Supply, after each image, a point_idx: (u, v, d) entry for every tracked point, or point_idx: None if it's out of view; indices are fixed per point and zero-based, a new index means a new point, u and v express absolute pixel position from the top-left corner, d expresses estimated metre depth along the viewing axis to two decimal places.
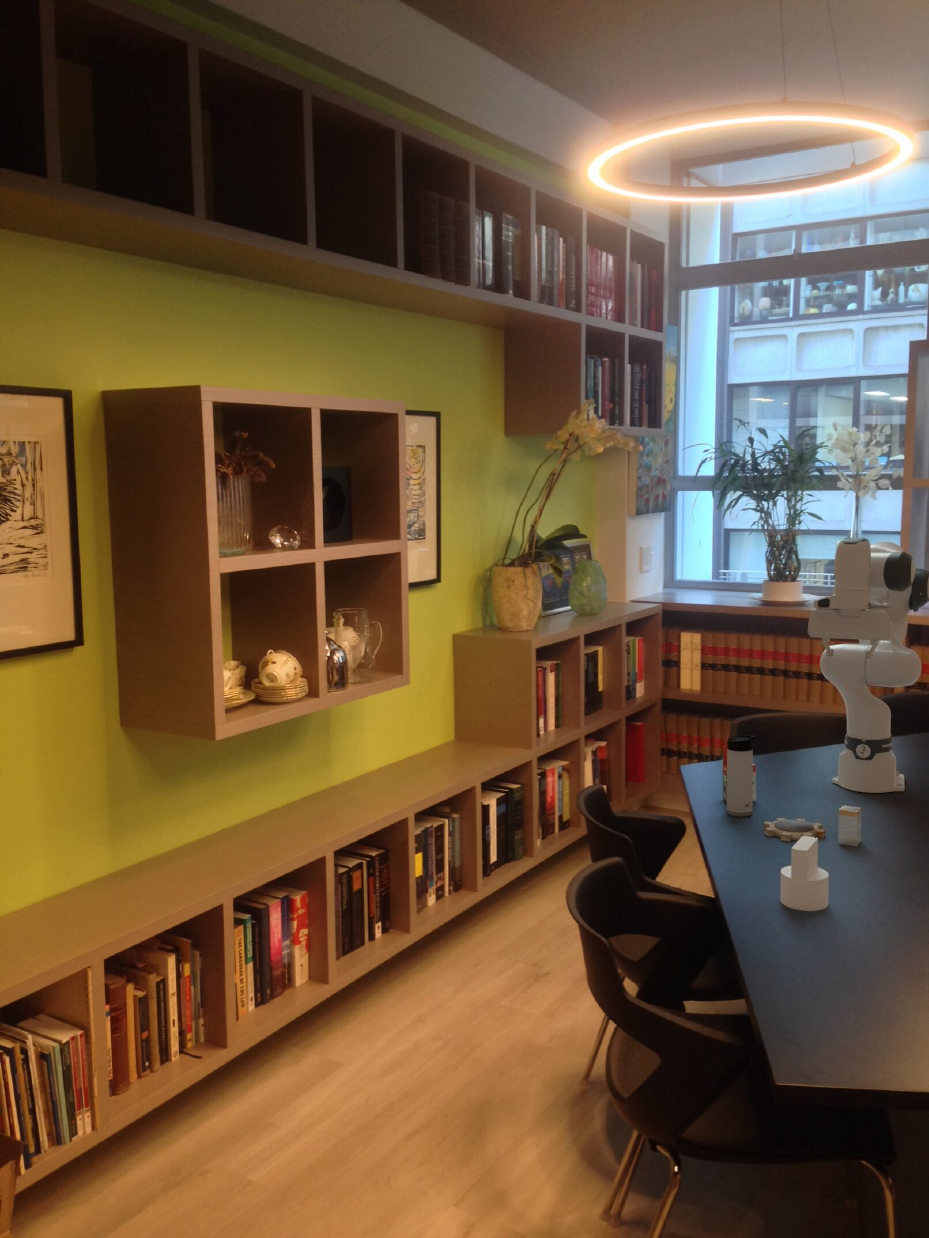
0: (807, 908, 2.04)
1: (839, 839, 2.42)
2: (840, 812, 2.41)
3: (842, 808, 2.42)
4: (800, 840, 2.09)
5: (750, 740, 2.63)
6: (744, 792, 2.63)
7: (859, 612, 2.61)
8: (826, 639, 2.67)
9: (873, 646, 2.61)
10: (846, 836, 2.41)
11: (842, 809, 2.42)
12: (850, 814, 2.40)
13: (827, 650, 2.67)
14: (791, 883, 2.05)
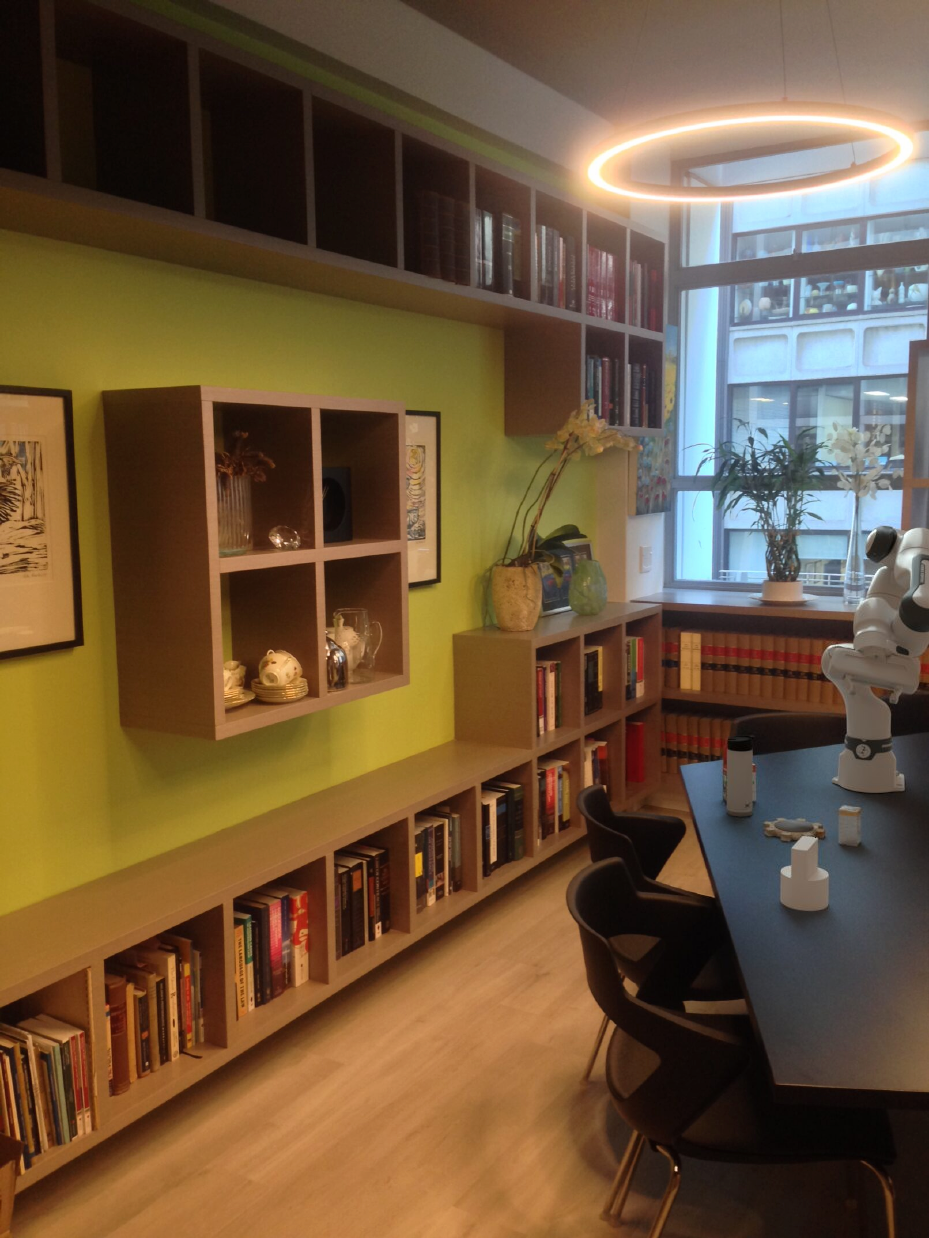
0: (807, 908, 2.04)
1: (839, 839, 2.42)
2: (840, 812, 2.41)
3: (842, 808, 2.42)
4: (800, 840, 2.09)
5: (750, 740, 2.63)
6: (744, 792, 2.63)
7: None
8: None
9: None
10: (846, 836, 2.41)
11: (842, 809, 2.42)
12: (850, 814, 2.40)
13: None
14: (791, 883, 2.05)
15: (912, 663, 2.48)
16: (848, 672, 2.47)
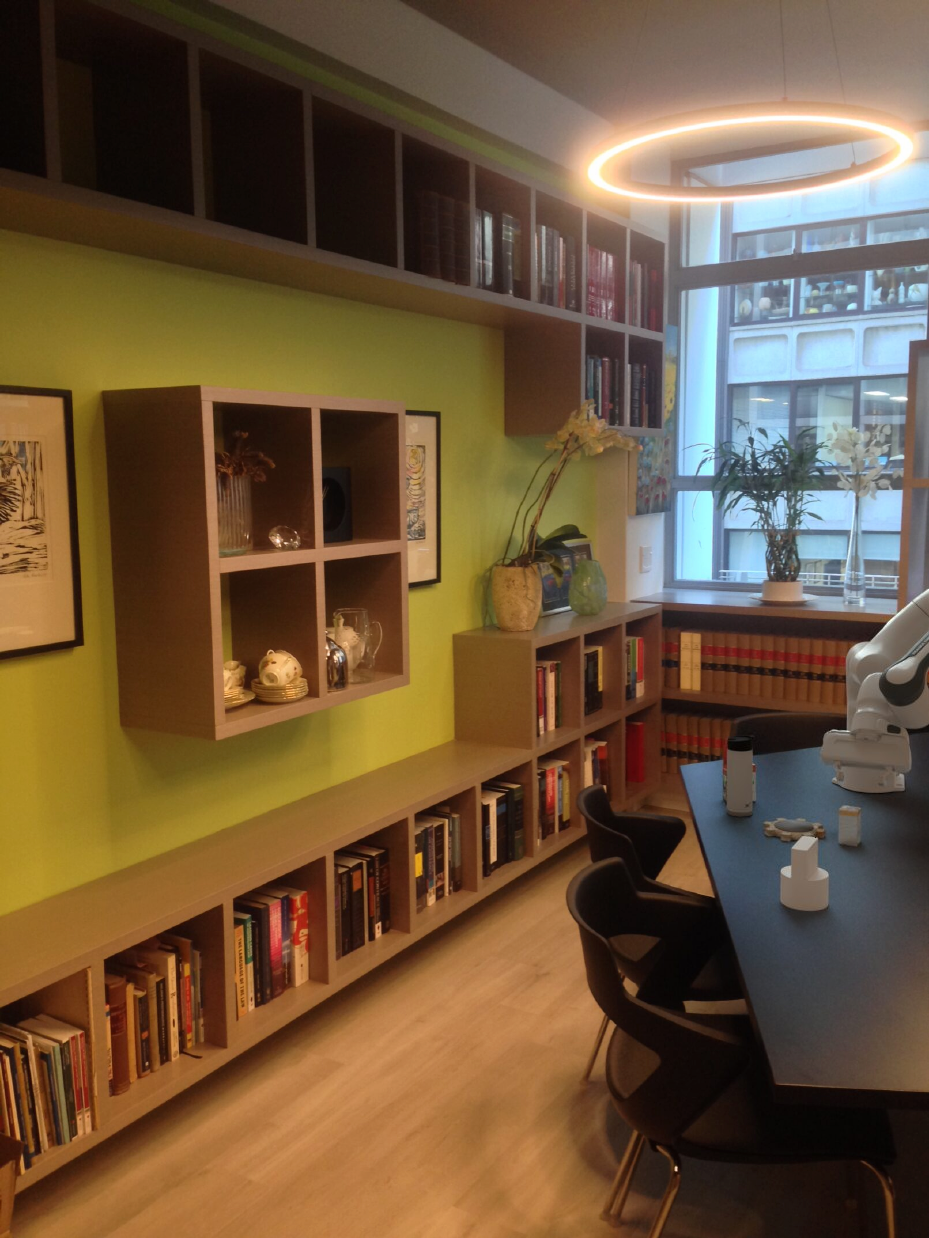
0: (807, 908, 2.04)
1: (839, 839, 2.42)
2: (840, 812, 2.41)
3: (842, 808, 2.42)
4: (800, 840, 2.09)
5: (750, 740, 2.63)
6: (744, 792, 2.63)
7: None
8: None
9: None
10: (846, 836, 2.41)
11: (842, 809, 2.42)
12: (850, 814, 2.40)
13: None
14: (791, 883, 2.05)
15: (904, 741, 2.46)
16: (836, 759, 2.51)
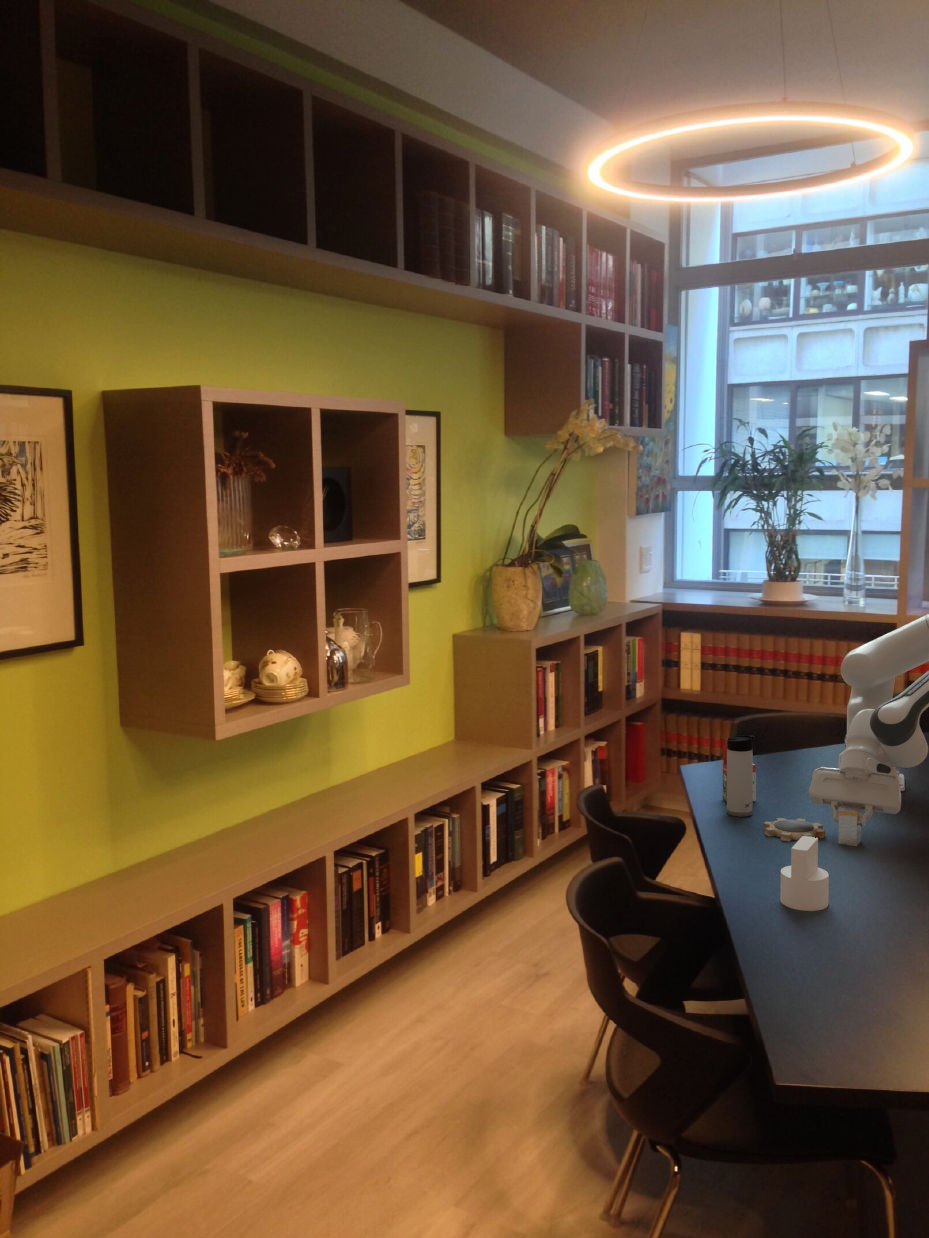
0: (807, 908, 2.04)
1: (839, 839, 2.42)
2: (840, 812, 2.41)
3: (842, 808, 2.42)
4: (800, 840, 2.09)
5: (750, 740, 2.63)
6: (744, 792, 2.63)
7: None
8: None
9: None
10: (846, 836, 2.41)
11: (842, 809, 2.42)
12: (850, 814, 2.40)
13: None
14: (791, 883, 2.05)
15: (894, 781, 2.41)
16: (824, 798, 2.46)
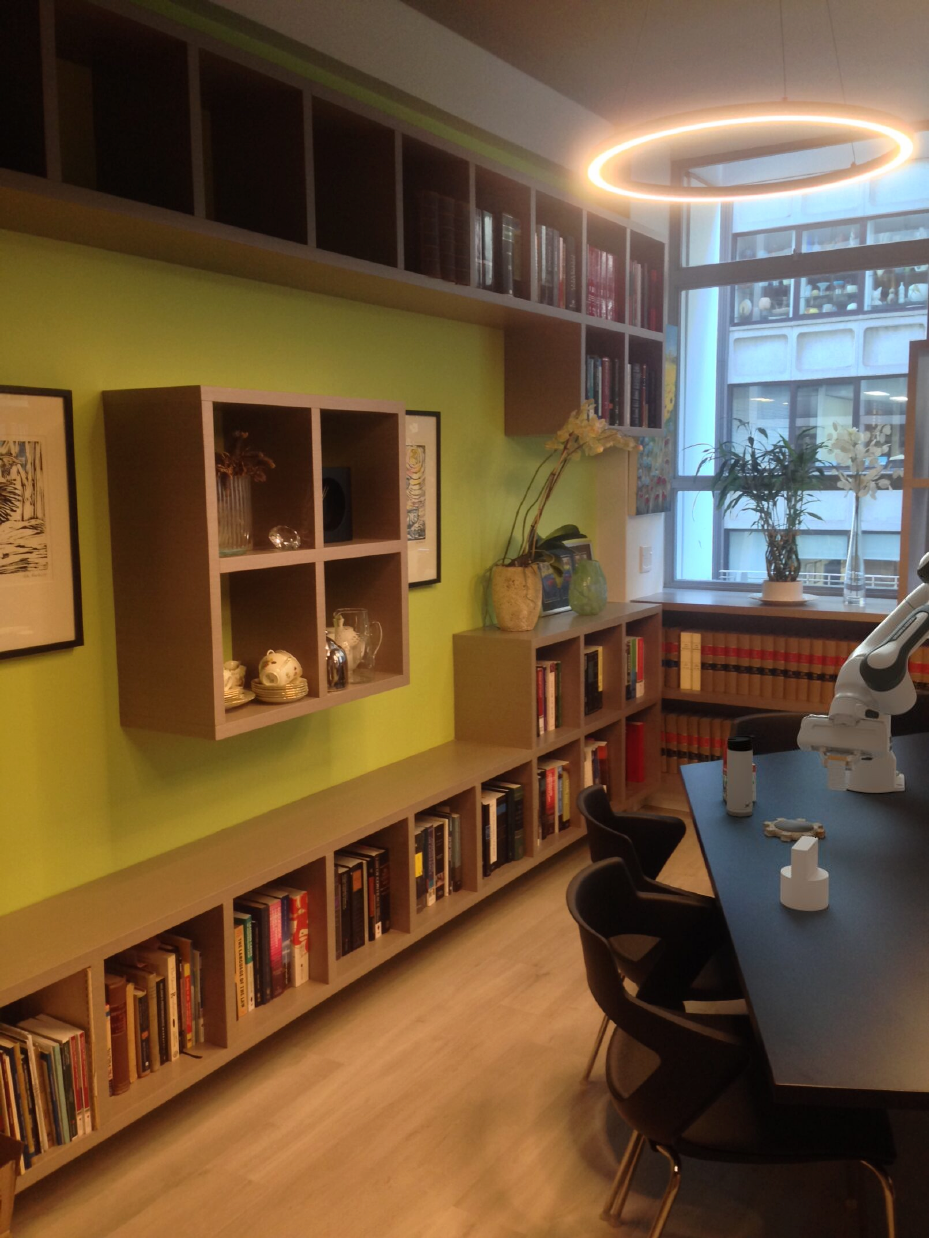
0: (807, 908, 2.04)
1: (828, 784, 2.42)
2: (829, 757, 2.42)
3: (831, 753, 2.43)
4: (800, 840, 2.09)
5: (750, 740, 2.63)
6: (744, 792, 2.63)
7: None
8: None
9: None
10: (835, 781, 2.41)
11: (831, 754, 2.42)
12: (839, 759, 2.40)
13: None
14: (791, 883, 2.05)
15: (882, 726, 2.41)
16: (813, 744, 2.47)
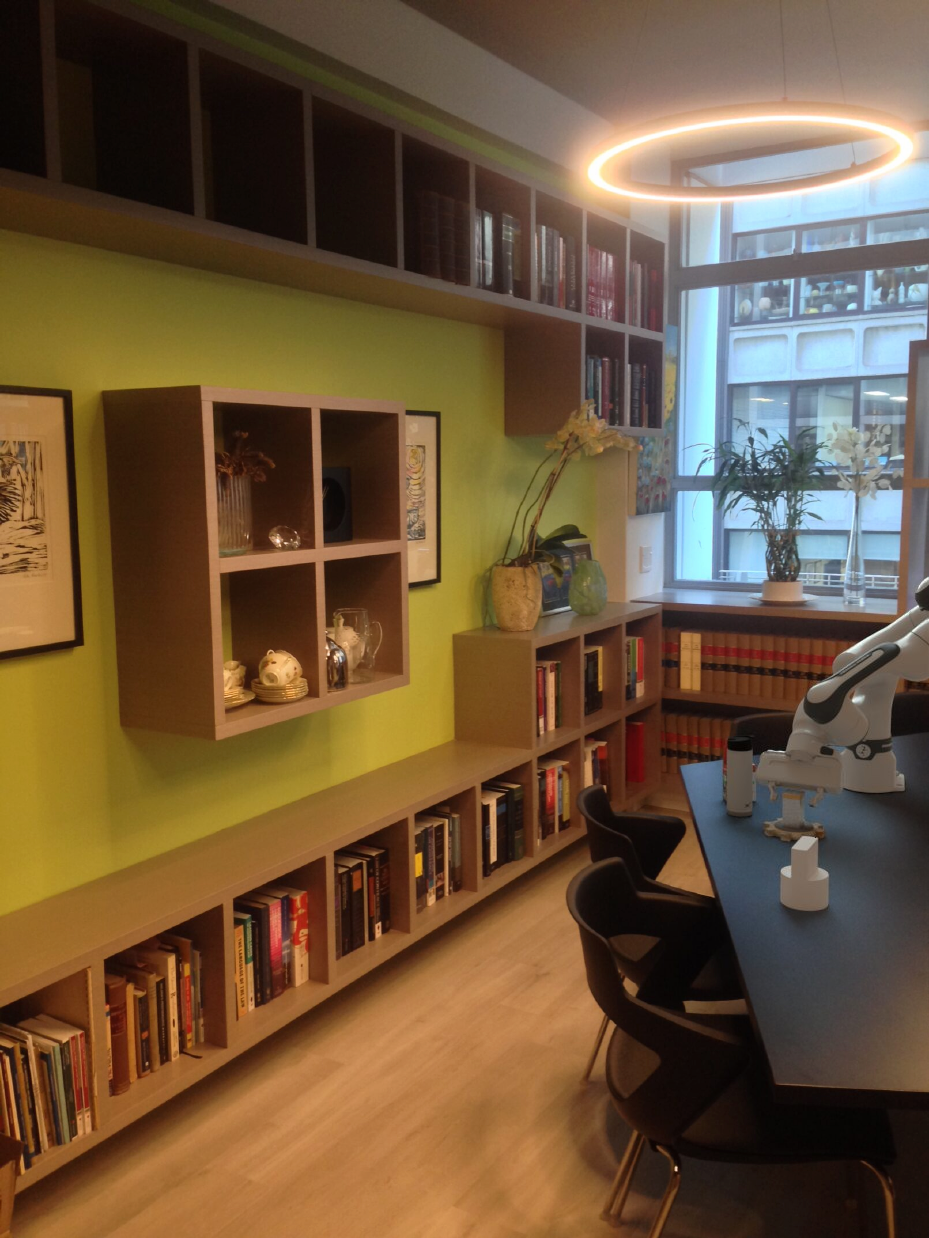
0: (807, 908, 2.04)
1: (783, 822, 2.50)
2: (784, 796, 2.49)
3: (786, 792, 2.50)
4: (800, 840, 2.09)
5: (750, 740, 2.63)
6: (744, 792, 2.63)
7: None
8: None
9: None
10: (790, 819, 2.49)
11: (786, 793, 2.49)
12: (793, 798, 2.48)
13: None
14: (791, 883, 2.05)
15: (836, 763, 2.48)
16: (770, 779, 2.54)
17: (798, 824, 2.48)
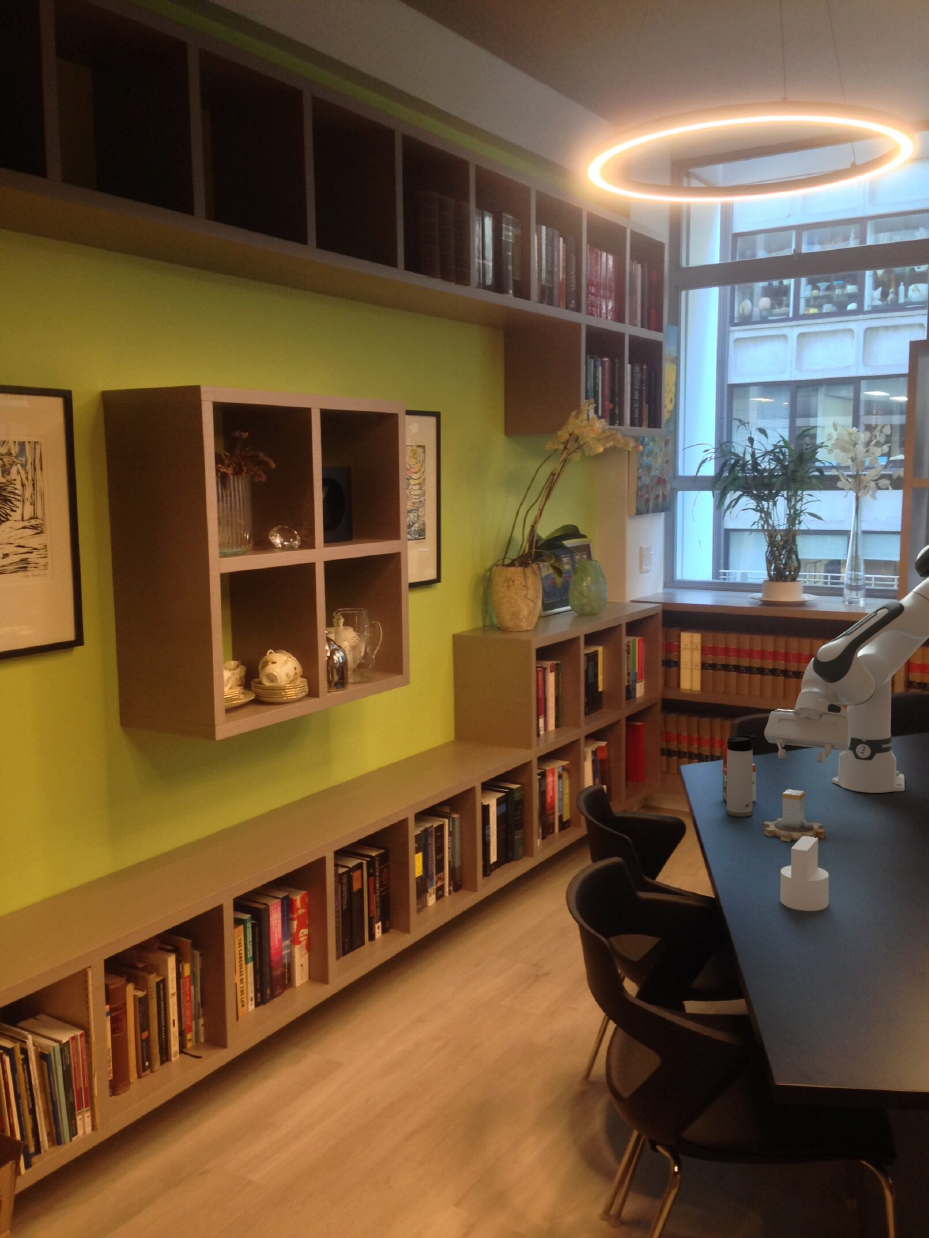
0: (807, 908, 2.04)
1: (783, 822, 2.50)
2: (784, 796, 2.49)
3: (786, 792, 2.50)
4: (800, 840, 2.09)
5: (750, 740, 2.63)
6: (744, 792, 2.63)
7: None
8: None
9: None
10: (790, 819, 2.49)
11: (786, 793, 2.49)
12: (793, 797, 2.48)
13: None
14: (791, 883, 2.05)
15: (843, 720, 2.55)
16: (778, 737, 2.61)
17: (798, 824, 2.48)
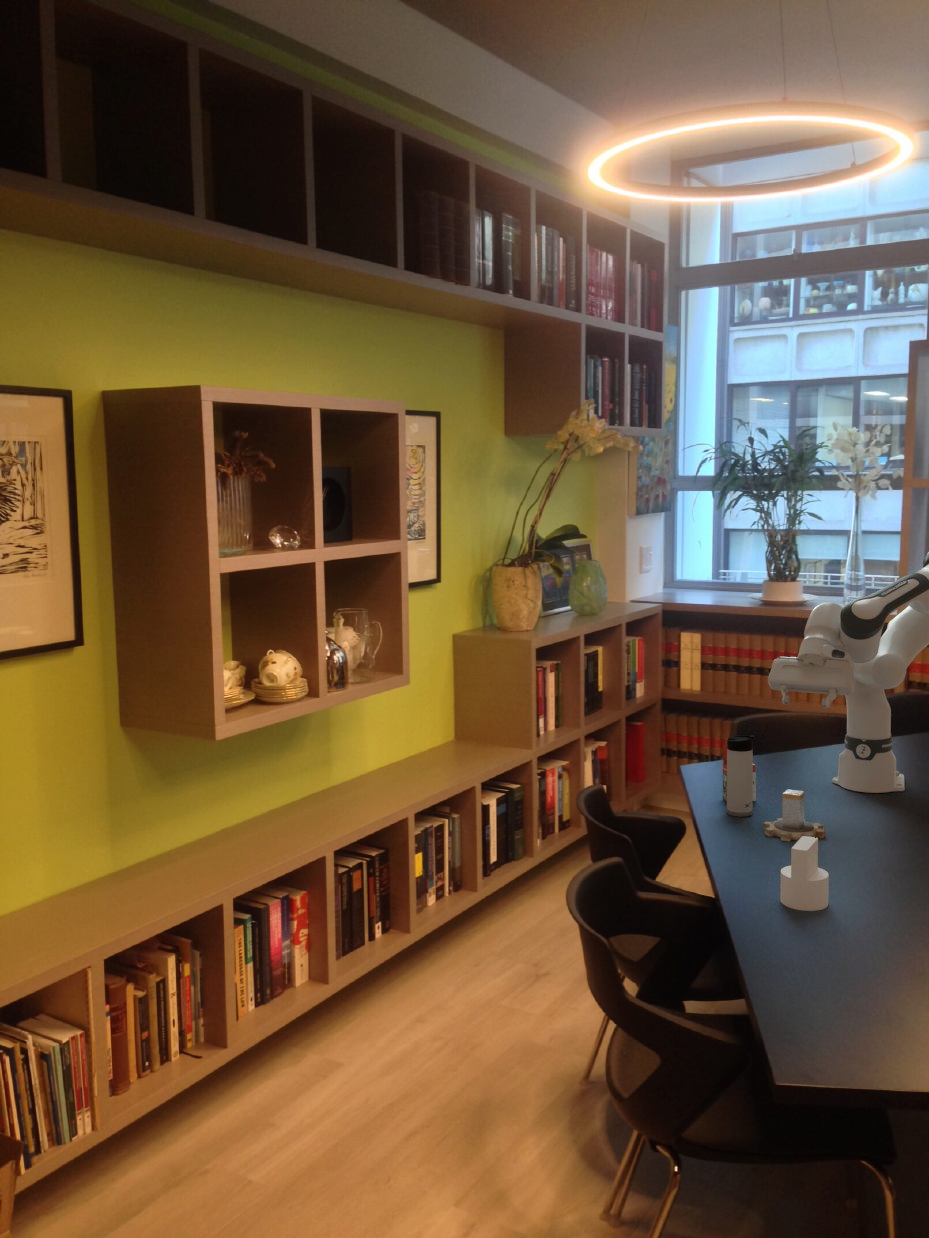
0: (807, 908, 2.04)
1: (783, 822, 2.50)
2: (784, 796, 2.49)
3: (786, 792, 2.50)
4: (800, 840, 2.09)
5: (750, 740, 2.63)
6: (744, 792, 2.63)
7: None
8: None
9: None
10: (790, 819, 2.49)
11: (786, 793, 2.49)
12: (793, 798, 2.48)
13: None
14: (791, 883, 2.05)
15: (847, 665, 2.54)
16: (782, 683, 2.59)
17: (798, 824, 2.48)
